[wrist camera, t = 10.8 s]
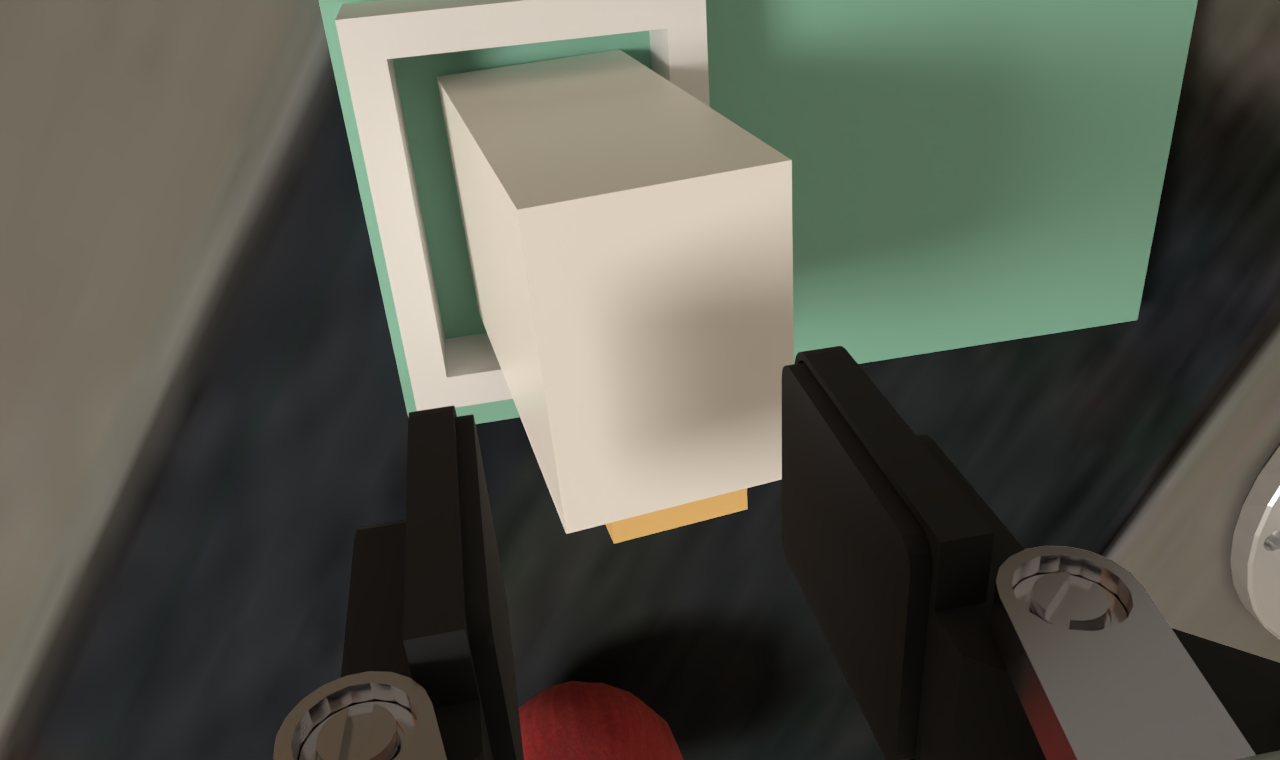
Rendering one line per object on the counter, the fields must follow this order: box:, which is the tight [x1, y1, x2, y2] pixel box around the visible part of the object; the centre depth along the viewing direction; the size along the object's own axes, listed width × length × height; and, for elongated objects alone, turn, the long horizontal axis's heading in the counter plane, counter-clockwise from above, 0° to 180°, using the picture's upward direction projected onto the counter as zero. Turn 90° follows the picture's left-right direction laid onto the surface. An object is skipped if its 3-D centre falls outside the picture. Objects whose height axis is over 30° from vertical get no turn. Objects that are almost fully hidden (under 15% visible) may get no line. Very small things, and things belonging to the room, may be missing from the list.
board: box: [319, 0, 1198, 424], centre depth 23 cm, size 20×12×3 cm, turn 94°
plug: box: [437, 49, 794, 544], centre depth 19 cm, size 4×6×9 cm, turn 5°
